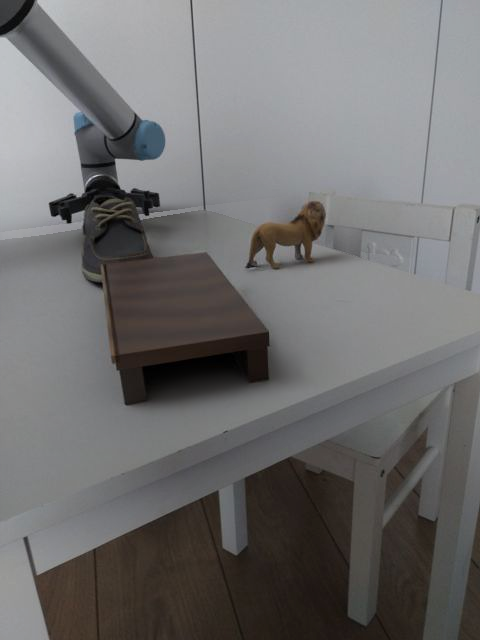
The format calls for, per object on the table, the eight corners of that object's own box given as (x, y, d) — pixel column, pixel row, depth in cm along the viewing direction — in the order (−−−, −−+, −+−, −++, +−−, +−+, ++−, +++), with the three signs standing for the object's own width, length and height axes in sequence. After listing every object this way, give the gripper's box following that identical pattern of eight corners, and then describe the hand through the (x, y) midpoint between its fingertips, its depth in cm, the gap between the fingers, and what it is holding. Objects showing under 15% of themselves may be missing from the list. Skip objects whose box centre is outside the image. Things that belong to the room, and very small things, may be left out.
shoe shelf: (106, 300, 77) (100, 264, 75) (209, 286, 81) (206, 252, 79) (119, 406, 51) (110, 355, 49) (271, 379, 55) (269, 331, 52)
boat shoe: (94, 299, 78) (80, 220, 73) (68, 251, 102) (57, 189, 98) (171, 286, 82) (163, 210, 77) (128, 242, 106) (120, 183, 102)
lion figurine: (313, 251, 95) (313, 196, 91) (333, 258, 91) (334, 201, 87) (237, 268, 88) (233, 209, 85) (255, 276, 84) (252, 215, 80)
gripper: (164, 206, 124) (179, 225, 106) (44, 217, 118) (37, 240, 99) (160, 170, 121) (175, 184, 102) (36, 180, 115) (28, 196, 96)
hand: (107, 212), depth 101 cm, fingers open, 13 cm apart
